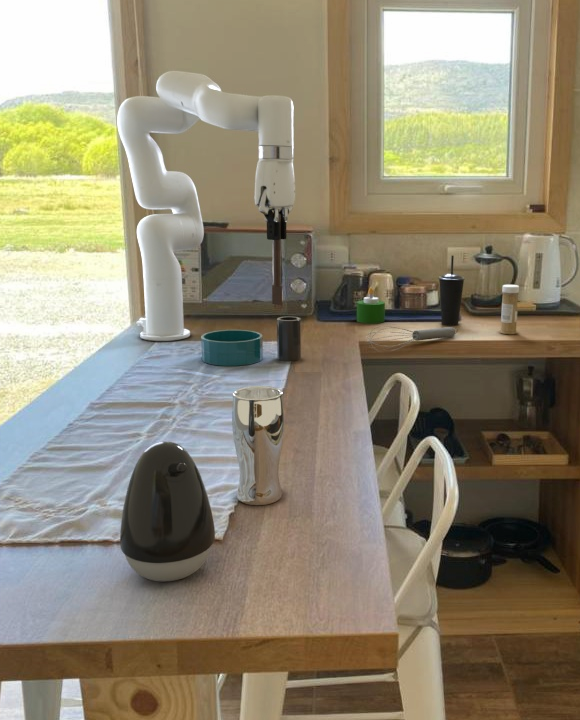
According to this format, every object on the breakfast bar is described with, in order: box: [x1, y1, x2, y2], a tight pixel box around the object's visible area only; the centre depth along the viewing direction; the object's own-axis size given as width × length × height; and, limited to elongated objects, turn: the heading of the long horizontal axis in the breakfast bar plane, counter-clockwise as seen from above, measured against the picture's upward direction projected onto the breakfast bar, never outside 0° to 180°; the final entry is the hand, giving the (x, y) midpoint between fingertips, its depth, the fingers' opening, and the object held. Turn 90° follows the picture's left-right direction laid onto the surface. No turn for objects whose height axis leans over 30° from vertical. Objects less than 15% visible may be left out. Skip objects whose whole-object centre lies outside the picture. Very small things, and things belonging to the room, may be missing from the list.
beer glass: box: [231, 385, 285, 506], centre depth 110 cm, size 7×7×15 cm
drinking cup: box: [438, 254, 466, 326], centre depth 234 cm, size 8×8×20 cm
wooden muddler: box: [271, 214, 283, 306], centre depth 182 cm, size 2×2×20 cm
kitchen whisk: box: [366, 325, 459, 353], centre depth 207 cm, size 6×34×6 cm, turn 136°
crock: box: [276, 316, 302, 363], centre depth 187 cm, size 5×6×10 cm
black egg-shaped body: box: [119, 441, 216, 582], centre depth 89 cm, size 10×10×15 cm
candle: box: [356, 286, 386, 324], centre depth 237 cm, size 8×8×10 cm
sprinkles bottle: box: [499, 284, 520, 335], centre depth 223 cm, size 5×5×13 cm
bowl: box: [200, 329, 264, 367], centre depth 186 cm, size 14×14×6 cm
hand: (276, 238), depth 181 cm, fingers closed on wooden muddler, 1 cm apart
